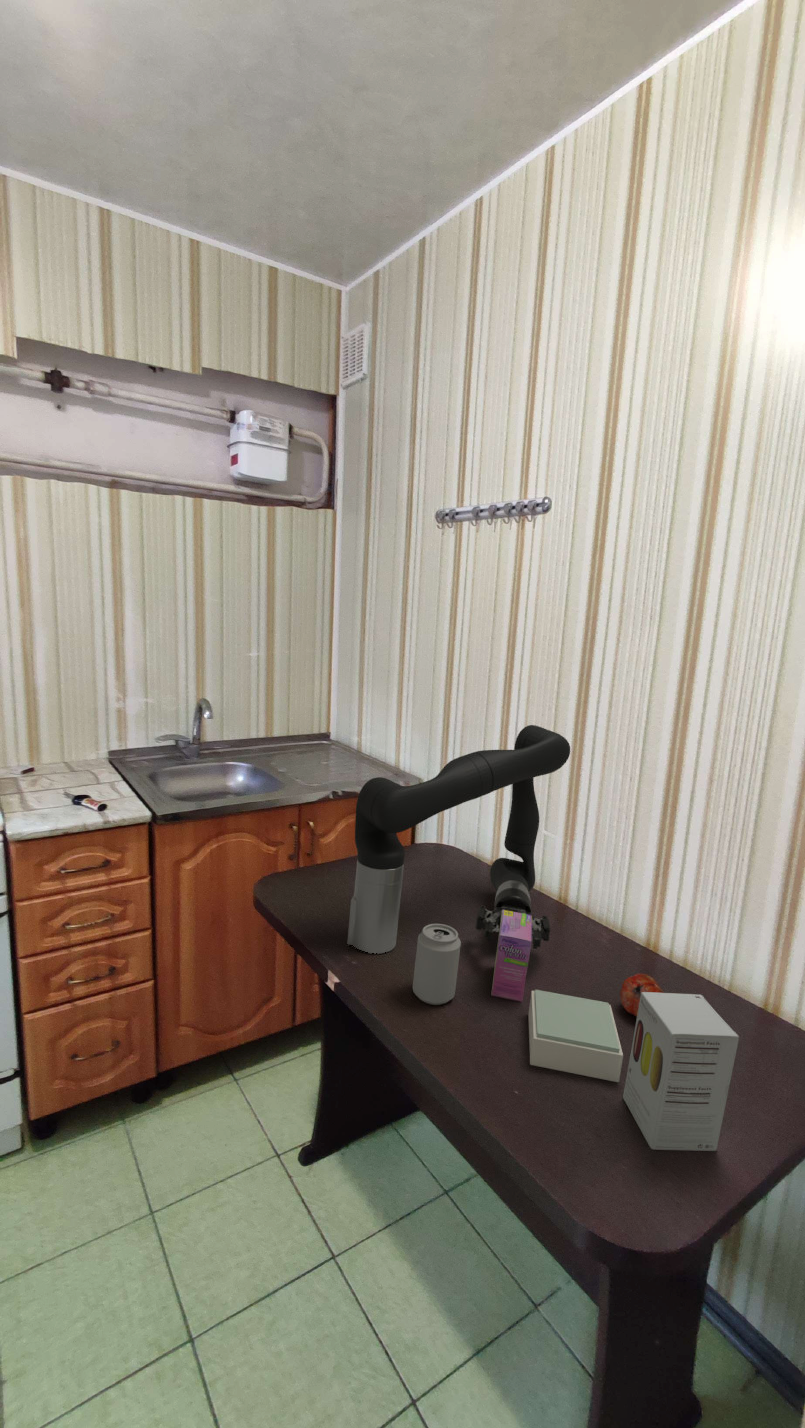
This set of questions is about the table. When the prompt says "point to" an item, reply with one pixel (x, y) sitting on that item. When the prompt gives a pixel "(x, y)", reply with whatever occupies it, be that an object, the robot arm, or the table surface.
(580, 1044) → the podium
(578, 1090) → the table surface
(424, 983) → the can
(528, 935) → the box
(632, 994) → the pomegranate
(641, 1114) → the supplement box
